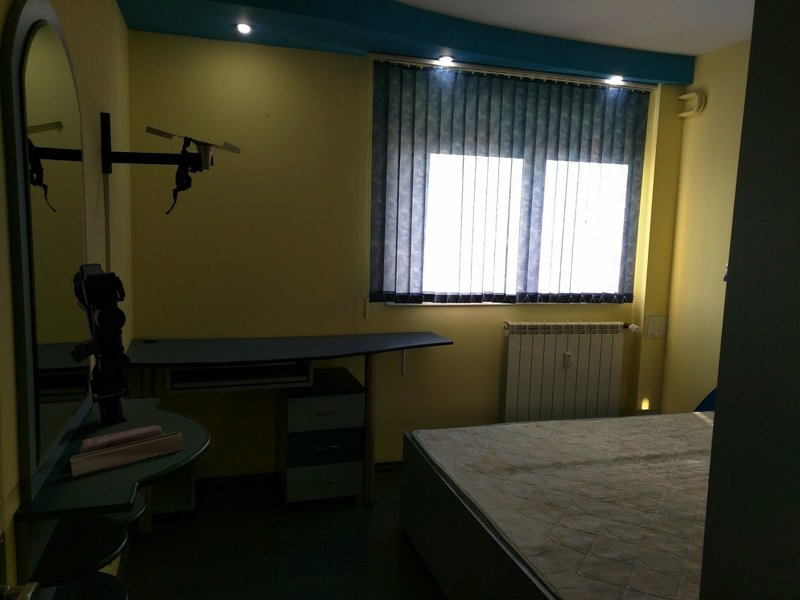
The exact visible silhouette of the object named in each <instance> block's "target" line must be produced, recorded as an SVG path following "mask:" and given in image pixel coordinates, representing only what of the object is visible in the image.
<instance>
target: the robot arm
mask: <svg viewBox="0 0 800 600" xmlns="http://www.w3.org/2000/svg"><path fill="white" fill-rule="evenodd" d="M73 276H74V279H73V282H74V293H75V296H76V298H77V299H76V298H75V299H76V304H77V307H79V309H81V310H82V311H83V312H84V313H85V316H86V322H87V326H88V332H89V336H90V337H89V338H88V339H85V340H82V342H79V343H77V344H75V345H73V346H71V347H69V348H68V349H67V352H68V353H69V355H70V356H71V358H72V360H73V361H74V363H75V364H79V363H80V362H83V360H85V359H87V358H89V357H91V356H93V358H94V363H95V364H94V365H93V368H92V369H91V372H90V373H91V374H90V379H89V381H88V385H89V386H88V390H89V399H90V401H91V403H92V404H96V403H97V408H98V409H97V410H98V417H96V419H97V422H98V425H99V426H100V427H104V426H107V425H112V424H116V423H117V424H118V423H121V422H126V421H128V418H127V416H126V414H125V412H124V406H123V398H124V397H129V395H130V385H129V384H130V383H129V382H130V380H129V378H128V377H127V376H126V374H125V373H124V372H125V370H126V367H129V366H131V364H132V363H131V357H130V355H128V353H126V351H125V346H124V342H123V336H122V335H123V328H124V326H125V324H126V321H127V318H126V317H127V315H126V314H125V312H124V311H123V309H121V308H119V304H118V303H119V302H121V303H122V302H125V298H126V291H125V287H124V284H123V281H122V280H121V279H120V276H118V275H116V273H115V271H105V270H104V269H103V268H102V264H101V263H97V262H95V263H85V264H81V265H78V271H77V272H76V273H75V274H73Z"/></svg>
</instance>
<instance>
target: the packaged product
mask: <svg viewBox="0 0 800 600" xmlns="http://www.w3.org/2000/svg"><path fill="white" fill-rule="evenodd" d="M161 435H165V433H164V430H162V427H161V426H160V425H155V424H154V425H150V426H144V427H138V428H135V429H133V428H132V429H128V430H124V431H120V432H115V433H109V434H106V435H100V436H95V437H91V438H87V439H84V440H82V441H81V444H80V447H79V449H80V454H85V453H89V452H93V451H97V450H102V449H106V448H110V447H114V446H119V445H123V444H127V443H131V442H136V441H140V440H144V439H148V438H153V437H157V436H161Z"/></svg>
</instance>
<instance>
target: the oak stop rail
mask: <svg viewBox="0 0 800 600" xmlns="http://www.w3.org/2000/svg"><path fill="white" fill-rule="evenodd" d="M164 434H165V433H164ZM183 439H184V438H183V434H182V433H181V432H180V431H175V432H174V431H173V432H170V433H166V434H165V435H161V436H157V437H153V438H148V439H144V440H140V441H136V442H131V443H127V444H123V445H119V446H114V447H110V448H106V449H102V450H97V451H93V452H89V453H85V454H81V453H80V454H77V455H73V456H72V457H69V458H70V466H71V473H72V477H73V478H75V476H76V477H79V476H78V475H80V476H82V475H81V474H84V475H86V474H85V473H88V474H90V473H89V472H92V473H94V472H93V471H96V472H99V471H98V470H100V471H102V470H101V469H104V470H107V469H111V468H115V467H119V466H123V465H128V464H131V463H135V461H136V462H139V461H138V460H140V461H142V459H144V460H146V459H145V458H148V457H152V458H154V457H153V456H156V457H158V455H160V456H163V455H167V454H171V453H175V452H179V451H182V450H183V451H184V450H185V448H184V447H185V446H184V440H183ZM148 459H149V458H148Z"/></svg>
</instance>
